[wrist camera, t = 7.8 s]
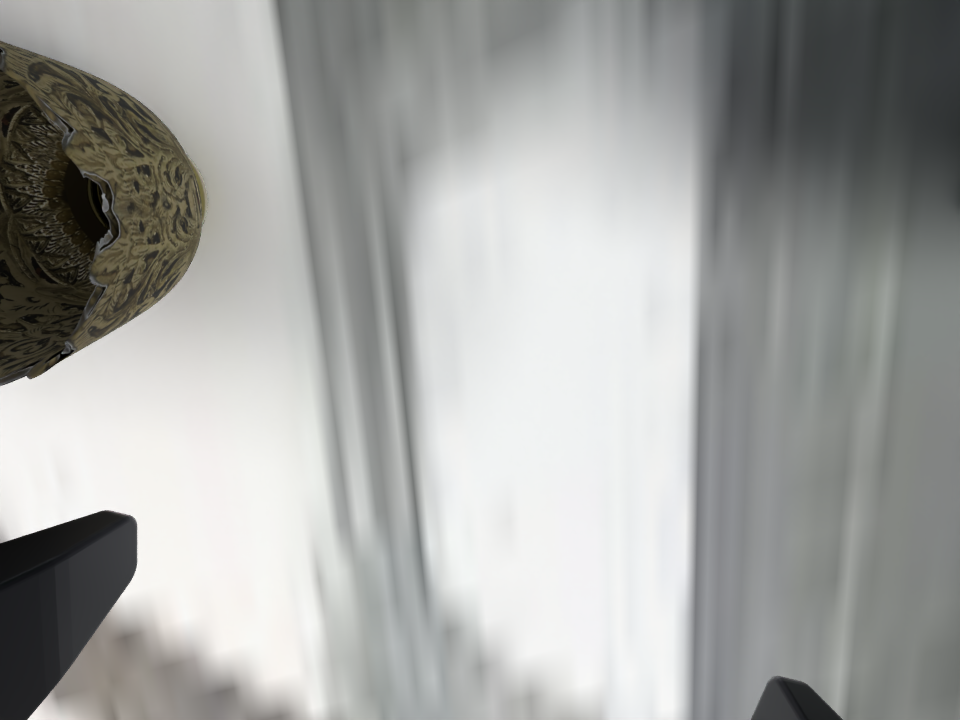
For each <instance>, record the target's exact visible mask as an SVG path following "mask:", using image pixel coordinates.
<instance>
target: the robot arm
mask: <svg viewBox="0 0 960 720" xmlns="http://www.w3.org/2000/svg"><path fill="white" fill-rule="evenodd" d="M136 567H137V522H136V520H135V518H133V517H132V516H130V515H126V514H122V513H118V512H114V511H109V510H105V511H100V512H97V513H94V514H91V515H88V516H85V517H82V518H78V519H75V520H72V521H69V522H66V523H63V524H60V525H57V526H53V527H50V528H47V529H44V530H41V531H38V532H35V533H32V534H28V535H25V536H22V537H19V538H16V539H13V540H10V541H6V542H3V543H0V720H27V719H28V718H29V717H30V716H31V715H32V713H33V712H34V711H35V710H36V709H37V707H38V706H39V705H40V704H41V703H42V702H43V700H44V699H45V698H46V697H47V696H48V694H49V693H50V692H51V691H52V690H53V688H54V687H55V686H56V685H57V683H58V682H59V681H60V680H61V678H62V677H63V676H64V674H65V673H66V672H67V670H68V669H69V668H70V666H71V665H72V664H73V662H74V661H75V660H76V658H77V657H78V655H79V654H80V652H81V651H82V650H83V648H84V647H85V645H86V644H87V643H88V641H89V640H90V638H91V637H92V635H93V634H94V633H95V631H96V630H97V628H98V627H99V625H100V624H101V623H102V621H103V620H104V618H105V617H106V616H107V614H108V613H109V611H110V610H111V608H112V607H113V606H114V604H115V603H116V601H117V600H118V599H119V597H120V596H121V594H122V593H123V591H124V590H125V589H126V587H127V586H128V584H129V583H130V581H131V580H132V578H133V576H134V573H135V571H136ZM751 720H843V719H842V718H841V717H840V716H839V715H838V714H837V713H836V712H835V711H834V710H833V709H832V708H831V707H830V706H829V705H828V704H827V703H826V702H825V701H824V700H823V699H822V698H821V697H820V696H819V695H818V694H817V693H816V692H815V691H814V690H813V689H812V688H811V687H810V686H808V685H807V684H806V683H804V682H801V681H798V680H793V679H789V678H785V677H781V676H774V677H772V678H771V679H770V680H769V681H768V683H767V684H766V687H765V689H764V691H763V693H762V696H761V698H760V700H759V702H758V704H757V707H756V709H755V711H754V713H753V715H752V718H751Z"/></svg>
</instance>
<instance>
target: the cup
mask: <svg viewBox="0 0 960 720" xmlns="http://www.w3.org/2000/svg"><path fill="white" fill-rule="evenodd" d="M207 208H208V197H207V190H206V186H205V183H204V180H203V178H202V175H201V173H200V172H199V170H198V168H197V167H196V165H195V164H194V162H193V161H192V160H191V159H190V158H189V157H188V155H187V154H186V153H185V152H184V150H183V148H182V147H181V145H180V144H179V142H178V140H177V139H176V138H175V136H174V135H173V134H172V133H171V131H170V130H169V129H168V128H167V127H166V126H165V125H164V123H163V122H162V121H161V120H160V119H159V118H158V117H157V116H156V115H155V114H154V113H152V112H151V111H150V110H149V109H148V108H147V107H145V106H144V105H143V104H142V103H141V102H139V101H138V100H136V99H135V98H133V97H132V96H131V95H129V94H127V93H126V92H124V91H122V90H121V89H119V88H117V87H115V86H113V85H112V84H110V83H108V82H106V81H104V80H102V79H100V78H98V77H95V76H93V75H91V74H89V73H86V72H84V71H82V70H79V69H77V68H74V67H72V66H69V65H67V64H64V63H61V62H59V61H56V60H53V59H50V58H48V57H45V56H42V55H39V54H36V53H33V52H31V51H28V50H25V49H22V48H19V47H16V46H13V45H10V44H7V43H4V42H1V41H0V386H2V385H5V384H8V383H10V382H13V381H15V380H18V379H20V378H23V377H25V376H27V377H28V378H29V379H32V378H35V377H37V376H39V375H41V374H43V373H44V372H46V371H47V370H49V369H50V368H51V367H53V366H54V365H56V364H57V363H59V362H60V361H62V360H64V359H65V358H67V357H69V356H71V355H72V354H74V353H76V352H78V351H79V350H81V349H83V348H85V347H86V346H88V345H90V344H92V343H93V342H95V341H97V340H98V339H100V338H102V337H104V336H105V335H107V334H109V333H110V332H112V331H114V330H116V329H117V328H119V327H121V326H122V325H124V324H126V323H127V322H129V321H130V320H132V319H134V318H135V317H137V316H138V315H140V314H141V313H143V312H144V311H146V310H148V309H149V308H150V307H152V306H153V305H154V304H156V303H157V302H158V301H159V300H161V299H162V298H163V297H164V296H165V295H166V294H167V293H168V292H169V291H170V290H171V289H172V288H173V287H174V286H175V285H176V284H177V283H178V282H179V281H180V280H181V278H182V277H183V275H184V274H185V272H186V271H187V269H188V267H189V265H190V264H191V262H192V260H193V258H194V256H195V253H196V250H197V247H198V244H199V240H200V236H201V229H202V226H203V224H204V221H205V218H206V214H207Z"/></svg>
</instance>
